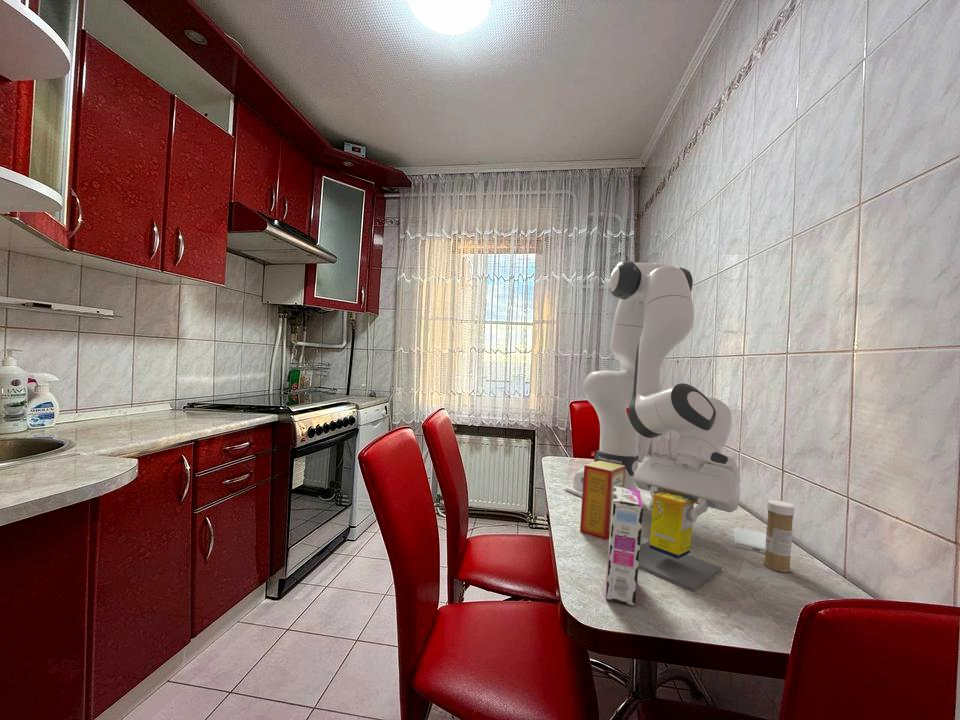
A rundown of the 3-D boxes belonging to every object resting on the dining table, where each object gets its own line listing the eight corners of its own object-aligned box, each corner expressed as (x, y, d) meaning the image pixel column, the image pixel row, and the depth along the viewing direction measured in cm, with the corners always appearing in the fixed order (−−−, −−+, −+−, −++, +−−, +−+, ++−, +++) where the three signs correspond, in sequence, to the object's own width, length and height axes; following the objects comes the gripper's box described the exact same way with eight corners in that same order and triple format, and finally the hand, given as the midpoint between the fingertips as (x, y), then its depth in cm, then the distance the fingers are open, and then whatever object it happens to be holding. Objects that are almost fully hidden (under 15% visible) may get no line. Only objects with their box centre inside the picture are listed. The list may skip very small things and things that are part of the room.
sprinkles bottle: (763, 560, 90) (766, 497, 90) (789, 567, 88) (793, 502, 88) (764, 568, 86) (768, 502, 86) (792, 575, 84) (795, 508, 84)
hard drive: (734, 526, 108) (735, 541, 97) (773, 535, 104) (778, 551, 93) (734, 533, 108) (734, 548, 97) (773, 541, 104) (778, 559, 93)
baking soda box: (595, 522, 106) (600, 458, 107) (621, 529, 102) (625, 464, 103) (579, 531, 99) (584, 463, 99) (606, 540, 95) (611, 469, 95)
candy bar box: (637, 608, 67) (644, 506, 68) (605, 600, 69) (612, 500, 69) (634, 577, 78) (640, 488, 78) (606, 571, 80) (612, 484, 80)
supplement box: (661, 543, 88) (665, 490, 89) (690, 553, 84) (695, 498, 85) (647, 548, 84) (652, 493, 85) (678, 559, 80) (683, 501, 81)
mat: (616, 558, 86) (616, 555, 86) (649, 543, 95) (649, 540, 95) (693, 591, 74) (693, 587, 74) (721, 570, 84) (722, 567, 84)
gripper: (643, 443, 97) (618, 491, 91) (743, 460, 82) (722, 520, 75) (651, 460, 100) (628, 508, 93) (749, 481, 85) (730, 540, 78)
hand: (671, 514), depth 84 cm, fingers closed on supplement box, 6 cm apart
